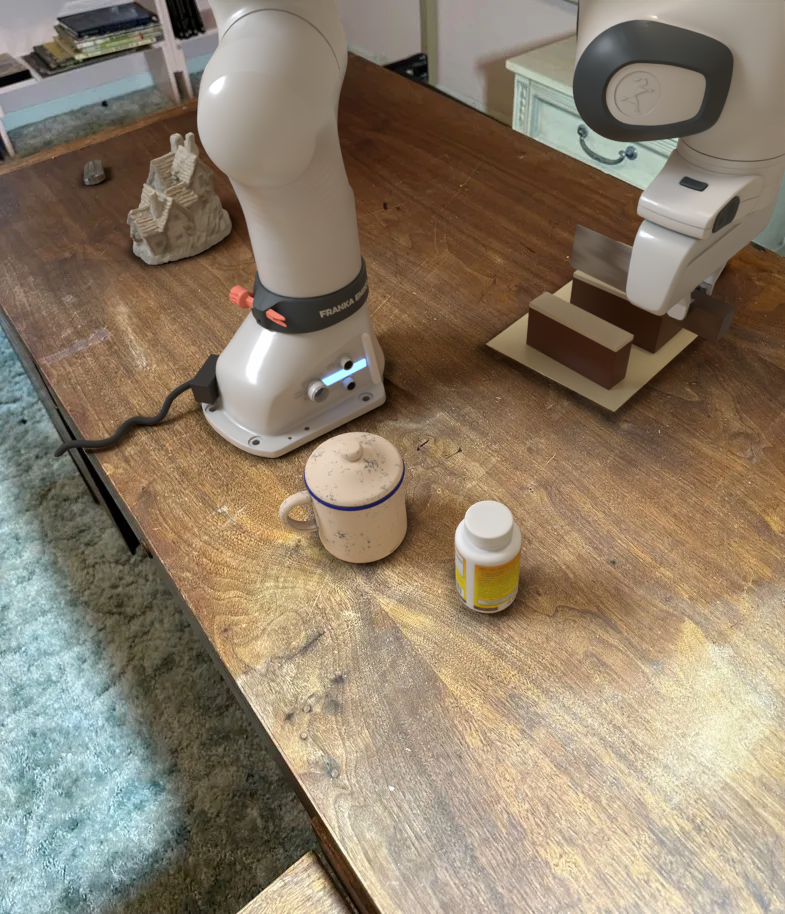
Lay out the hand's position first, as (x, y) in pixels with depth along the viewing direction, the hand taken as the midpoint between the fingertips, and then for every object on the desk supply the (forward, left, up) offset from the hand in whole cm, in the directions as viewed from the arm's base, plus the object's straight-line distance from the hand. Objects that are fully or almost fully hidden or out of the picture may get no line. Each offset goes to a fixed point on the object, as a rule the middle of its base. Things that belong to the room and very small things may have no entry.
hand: (688, 306), depth 75 cm
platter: (+6, +12, -13) cm, 18 cm away
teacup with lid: (-35, +13, -13) cm, 40 cm away
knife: (0, +5, -2) cm, 5 cm away
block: (-12, +102, -13) cm, 103 cm away
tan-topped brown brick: (-1, +11, -12) cm, 16 cm away
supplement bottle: (-31, -1, -13) cm, 34 cm away
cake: (+10, +11, -12) cm, 19 cm away
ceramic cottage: (-13, +75, -13) cm, 77 cm away
